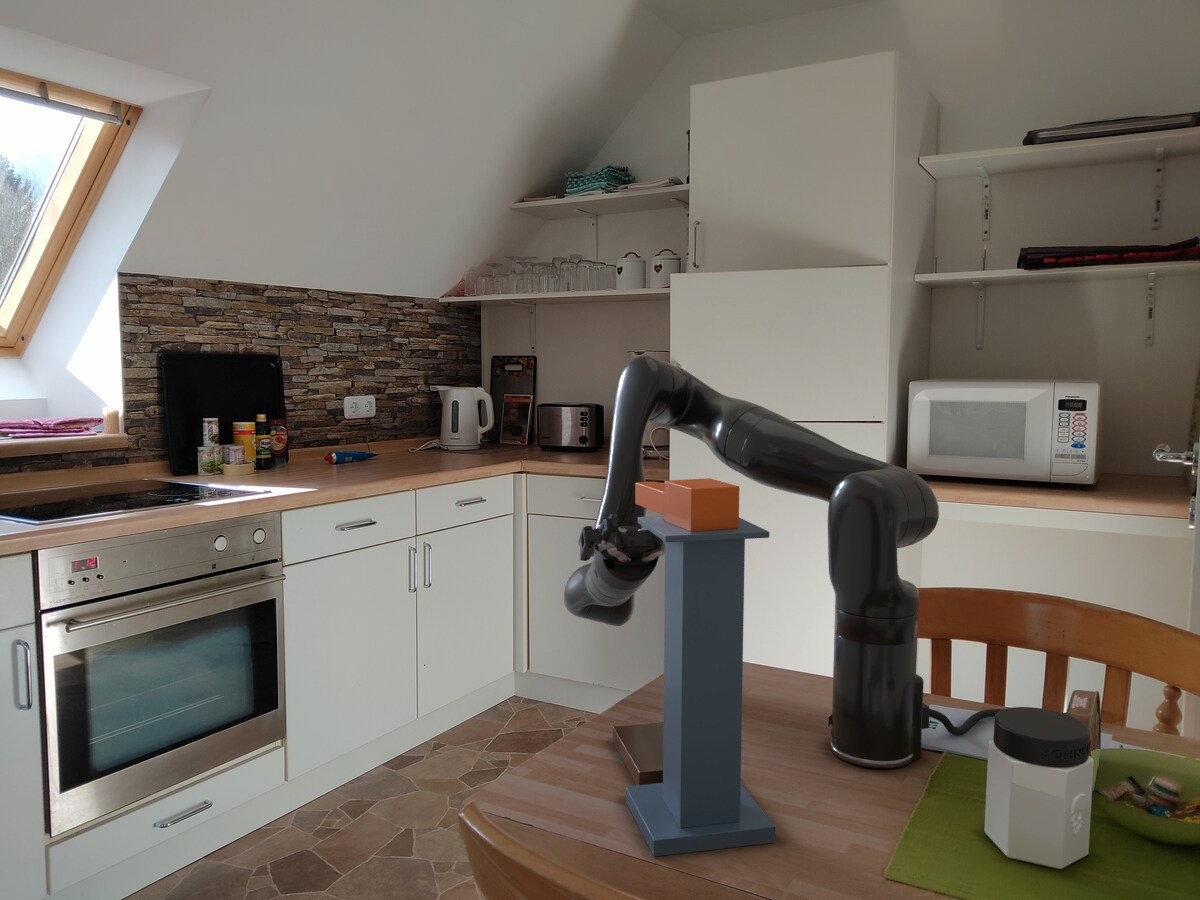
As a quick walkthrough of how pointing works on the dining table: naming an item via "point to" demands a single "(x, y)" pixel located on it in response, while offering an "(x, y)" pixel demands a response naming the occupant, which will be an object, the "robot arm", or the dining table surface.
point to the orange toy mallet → (692, 503)
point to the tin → (1087, 714)
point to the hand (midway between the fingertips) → (651, 520)
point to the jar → (1039, 786)
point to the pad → (641, 751)
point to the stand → (701, 698)
